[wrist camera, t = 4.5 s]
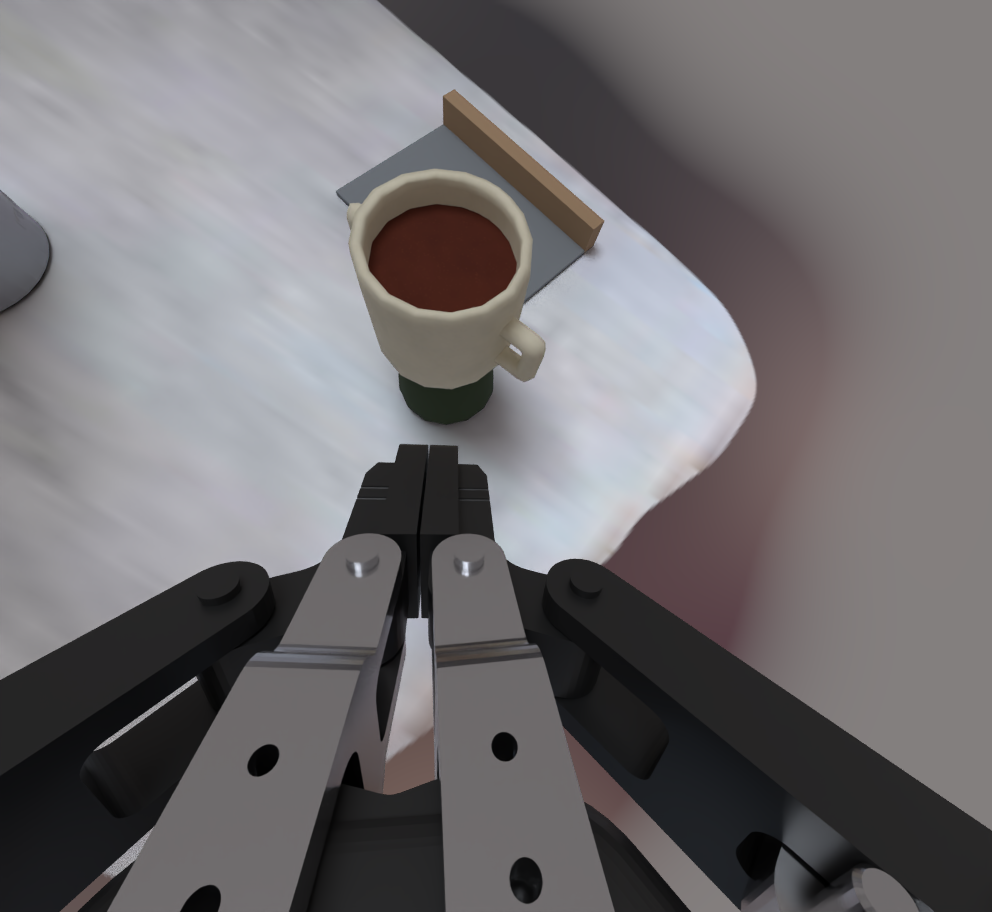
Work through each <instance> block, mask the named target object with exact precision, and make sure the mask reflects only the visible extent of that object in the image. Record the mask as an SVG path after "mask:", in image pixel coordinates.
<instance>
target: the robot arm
mask: <svg viewBox="0 0 992 912" xmlns="http://www.w3.org/2000/svg"><path fill="white" fill-rule="evenodd" d="M48 259H49V243H48V240H47V237H46V234H45V232H44V231H43V229H42V228H41V226H40V225H39V223H38V222H36V221H35V220H34V219H33V218H32V217H31V216H29V215H28V214H27V213H26V212H25V211H24V210H22V209H21V208H20V207H19V206H18V205H16V204H15V203H14V202H13V201H12V199H10V198H9V197H8V196H7V195H6V194H4V193H3V192H2V191H1V190H0V312H1V311H2V310H4V309H6V308H8V307H10V306H11V305H13V304H15V303H17V302H18V301H19V300H20V299H22V298H23V297H24V296H25V295H27V294H28V293H29V292H30V291H31V290H32V288H33V287H34V286H35V285H36V284H37V283H38V282H39V280H40V278H41V276H42V275H43V273H44V271H45V269H46V266H47V262H48ZM489 499H490V498H489V491H488V482H487V475H486V474H485V473H484V472H483V471H482V469H481V468H480V467H479V466H478V465H468V464H458V446H446V445H430V451H429V450H428V445H413V444H400V445H399V448H398V452H397V456H396V460H395V463H383V462H378V463H377V464H376V465H375V466H373V467H372V468H371V469H370V470H369V471H368V472H367V473H366V474H365V477H364V480H363V482H362V485H361V489H360V491H359V493H358V496H357V499H356V502H355V505H354V507H353V510H352V513H351V516H350V519H349V521H348V524H347V527H346V530H345V533H344V535H343V538H342V540H341V541H339V542H338V543H336V544H335V545H333V546H332V547H331V548H330V549H329V550H328V551H327V552H326V554H325V555H324V557H323V559H322V561H321V562H320V563H318V564H316V565H314V566H312V567H310V568H307V569H304V570H301V571H297V572H293V573H288V574H284V575H280V576H276V577H272V578H269V576H268V573H267V572H266V570H265V569H264V568H263V567H261V566H260V565H258V564H255V563H251V562H243V561H237V562H228V563H223V564H220V565H216V566H213V567H210V568H208V569H206V570H203V571H201V572H199V573H197V574H196V575H194V576H192V577H190V578H188V579H186V580H184V581H183V582H181V583H179V584H177V585H175V586H173V587H172V588H170V589H168V590H166V591H164V592H162V593H160V594H159V595H157V596H155V597H153V598H151V599H149V600H147V601H146V602H144V603H142V604H140V605H138V606H136V607H135V608H133V609H131V610H129V611H127V612H125V613H123V614H122V615H120V616H118V617H116V618H114V619H112V620H111V621H109V622H107V623H105V624H103V625H101V626H99V627H98V628H96V629H94V630H92V631H90V632H88V633H86V634H85V635H83V636H81V637H79V638H77V639H75V640H74V641H72V642H70V643H68V644H66V645H64V646H62V647H61V648H59V649H57V650H55V651H53V652H51V653H50V654H48V655H46V656H44V657H42V658H40V659H38V660H37V661H35V662H33V663H31V664H29V665H27V666H25V667H24V668H22V669H20V670H18V671H16V672H14V673H13V674H11V675H9V676H7V677H5V678H3V679H1V680H0V912H60V911H61V910H62V909H63V908H64V907H65V906H66V905H67V904H68V903H70V902H71V900H73V899H74V898H75V897H76V896H77V895H78V894H79V893H80V892H82V891H83V890H84V889H85V888H86V887H87V886H88V885H90V884H91V883H92V882H93V881H94V880H95V879H96V878H97V877H98V876H100V875H101V874H102V873H103V872H104V871H105V870H106V869H107V868H108V867H110V866H111V865H112V864H113V863H114V862H115V861H116V860H117V859H118V858H120V857H121V856H122V855H123V854H124V853H125V852H126V851H127V850H128V849H130V848H131V847H132V846H133V845H134V844H135V843H136V842H137V841H138V840H140V839H141V838H142V837H143V836H144V835H145V834H146V833H147V832H148V831H150V830H151V829H152V828H153V827H154V826H155V827H154V829H153V830H152V832H151V834H150V836H149V838H148V839H147V841H146V843H145V845H144V846H143V848H142V850H141V852H140V854H139V855H138V857H137V859H136V860H135V861H134V862H132V863H131V864H130V865H129V866H128V867H126V868H125V869H124V870H123V871H121V872H120V873H119V874H118V875H117V876H115V877H114V878H113V879H112V880H111V881H110V882H108V883H107V884H106V885H105V886H104V887H103V888H102V889H101V890H100V891H99V892H98V893H97V894H95V895H94V896H93V897H92V898H91V899H90V900H89V901H88V902H87V903H86V904H85V905H84V906H83V907H82V908H81V909H80V910H79V911H78V912H691V911H690V910H689V909H688V908H687V907H686V905H685V904H684V903H683V902H682V901H681V899H680V898H679V897H678V896H677V895H676V894H675V892H674V891H673V890H672V889H671V888H670V886H669V885H668V884H667V883H666V882H665V881H664V880H663V878H662V877H661V876H660V875H659V874H658V872H657V871H656V870H655V869H654V868H653V866H652V865H651V864H650V863H649V862H648V860H647V859H646V858H645V857H644V856H643V855H642V853H641V852H640V851H639V850H638V849H637V848H636V846H635V845H634V844H633V843H632V842H631V841H630V840H629V839H628V838H627V836H626V835H625V834H624V833H623V832H621V830H619V829H618V828H617V827H616V826H615V825H614V824H613V823H612V822H611V821H610V820H609V819H608V818H606V817H605V816H604V815H602V814H601V813H600V812H598V811H597V810H596V809H594V808H593V807H592V806H590V805H588V804H587V803H585V802H584V801H583V797H582V794H581V790H580V787H579V783H578V779H577V776H576V773H575V769H574V765H573V762H572V758H571V755H570V751H569V748H568V744H567V740H566V737H565V733H564V730H563V727H564V728H565V729H566V730H567V731H568V732H569V733H570V734H571V735H572V736H573V737H574V738H575V739H576V740H577V741H578V742H579V743H580V744H581V745H582V746H583V747H584V749H585V750H586V751H588V753H589V754H590V755H591V756H592V757H593V758H594V759H595V760H596V761H597V762H598V763H599V764H600V765H601V766H602V767H603V768H604V769H605V770H606V771H607V772H608V773H609V775H610V776H611V777H613V779H614V780H615V781H616V782H617V783H618V784H619V785H620V786H621V787H622V788H623V789H624V790H625V791H626V792H627V793H628V794H629V795H630V796H631V797H632V798H633V800H635V802H636V803H637V804H638V805H639V806H640V807H641V808H642V809H643V810H644V811H645V812H646V813H647V814H648V815H649V816H650V817H651V818H652V819H653V820H654V821H655V822H656V823H657V825H658V826H659V827H660V828H661V829H662V830H663V831H664V832H665V833H666V834H667V835H668V836H669V837H670V838H671V839H672V840H673V841H674V842H675V843H676V844H677V845H678V846H679V847H680V848H681V849H682V851H683V852H684V853H685V854H686V855H687V856H688V857H689V858H690V859H691V860H692V861H693V862H694V863H695V864H696V865H697V866H698V867H699V868H700V869H701V870H702V871H703V872H704V873H705V874H706V875H707V877H708V878H709V879H710V880H711V881H712V882H713V883H714V884H715V885H716V886H717V887H718V888H719V889H720V890H721V891H722V892H723V893H724V894H725V895H726V896H727V897H728V898H729V899H730V900H731V902H732V903H733V904H734V905H735V906H736V907H737V908H738V909H739V910H740V911H741V912H992V831H991V830H990V829H988V828H987V827H986V826H984V825H982V824H981V823H980V822H978V821H977V820H975V819H974V818H972V817H971V816H969V815H968V814H966V813H965V812H963V811H962V810H961V809H959V808H958V807H956V806H955V805H953V804H952V803H950V802H949V801H947V800H946V799H944V798H943V797H941V796H940V795H939V794H937V793H935V792H934V791H932V790H931V789H930V788H928V787H927V786H925V785H924V784H922V783H921V782H919V781H918V780H916V779H915V778H913V777H912V776H911V775H909V774H908V773H906V772H905V771H903V770H902V769H900V768H899V767H897V766H896V765H894V764H893V763H891V762H890V761H889V760H887V759H885V758H884V757H882V756H881V755H880V754H878V753H877V752H875V751H874V750H872V749H871V748H869V747H868V746H867V745H865V744H864V743H862V742H861V741H859V740H858V739H856V738H855V737H853V736H852V735H850V734H849V733H847V732H846V731H844V730H843V729H841V728H840V727H839V726H837V725H836V724H834V723H833V722H831V721H830V720H828V719H827V718H825V717H824V716H822V715H821V714H819V713H818V712H817V711H815V710H813V709H812V708H811V707H809V706H807V705H806V704H805V703H803V702H802V701H800V700H799V699H797V698H796V697H795V696H793V695H791V694H790V693H789V692H787V691H786V690H784V689H783V688H781V687H780V686H778V685H777V684H775V683H774V682H772V681H771V680H769V679H768V678H767V677H765V676H763V675H762V674H761V673H759V672H758V671H756V670H755V669H753V668H752V667H750V666H749V665H747V664H746V663H745V662H743V661H741V660H740V659H739V658H737V657H736V656H734V655H732V654H731V653H730V652H728V651H727V650H725V649H724V648H722V647H721V646H720V645H718V644H716V643H715V642H714V641H712V640H711V639H709V638H708V637H706V636H705V635H703V634H702V633H700V632H699V631H697V630H696V629H695V628H693V627H692V626H690V625H688V624H687V623H686V622H684V621H683V620H681V619H680V618H678V617H677V616H675V615H674V614H673V613H671V612H670V611H668V610H666V609H665V608H664V607H662V606H661V605H659V604H658V603H656V602H655V601H653V600H652V599H650V598H649V597H647V596H646V595H645V594H643V593H642V592H640V591H639V590H637V589H636V588H634V587H633V586H631V585H630V584H628V583H627V582H625V581H624V580H622V579H621V578H620V577H618V576H617V575H615V574H614V573H612V572H611V571H609V570H608V569H606V568H605V567H603V566H601V565H599V564H597V563H595V562H592V561H588V560H583V559H568V560H564V561H561V562H559V563H557V564H555V565H554V566H553V567H552V568H551V569H550V570H549V572H548V574H547V575H546V574H542V573H538V572H534V571H530V570H527V569H523V568H520V567H518V566H516V565H514V564H512V563H511V562H509V561H508V560H507V559H506V557H505V554H504V552H503V550H502V548H501V547H500V546H499V545H498V544H497V543H496V542H495V539H494V531H493V523H492V514H491V506H490V501H489ZM420 596H421V614H422V618H428V636H429V644H430V647H431V649H432V681H433V718H434V755H435V780H433V781H430V782H428V783H425V784H422V785H420V786H417V787H414V788H412V789H409V790H406V791H404V792H401V793H398V794H394V795H384V794H382V793H383V785H384V773H385V760H386V753H387V746H388V741H389V736H390V731H391V726H392V721H393V716H394V711H395V706H396V701H397V696H398V691H399V686H400V681H401V676H402V671H403V665H404V660H405V655H406V639H405V632H406V624H407V618H418V617H419V607H420ZM195 676H196V677H197V679H198V681H196V682H195V683H194V684H192V685H191V686H190V687H188V688H187V689H185V690H184V691H183V692H181V693H180V694H178V695H177V696H176V697H174V698H173V699H172V700H170V701H169V702H167V703H166V704H165V705H163V706H162V707H160V708H159V709H158V710H156V711H155V712H154V713H152V714H151V715H149V716H148V717H147V718H145V719H144V720H142V721H141V722H140V723H138V724H137V725H136V726H134V727H133V728H131V729H130V730H129V731H127V732H126V733H124V734H123V735H122V736H120V737H119V738H118V739H116V740H115V741H113V742H112V743H110V744H109V745H107V746H105V747H103V748H101V749H99V750H96V751H94V750H95V749H96V748H97V747H98V746H99V745H100V744H101V743H103V742H104V741H105V740H107V739H108V738H109V737H111V736H112V735H114V734H115V733H116V732H118V731H119V730H121V729H122V728H123V727H125V726H126V725H128V724H129V723H131V722H132V721H133V720H135V719H136V718H138V717H139V716H140V715H142V714H143V713H145V712H146V711H147V710H149V709H150V708H152V707H153V706H154V705H156V704H157V703H159V702H160V701H161V700H163V699H164V698H166V697H167V696H168V695H170V694H171V693H173V692H174V691H175V690H177V689H178V688H180V687H181V686H183V685H184V684H185V683H187V682H188V681H190V680H191V679H192V678H194V677H195Z"/></svg>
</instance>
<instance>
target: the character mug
mask: <svg viewBox="0 0 992 912" xmlns="http://www.w3.org/2000/svg"><path fill="white" fill-rule="evenodd" d="M347 220H348V223H349V227H350V230H351V233H350V238H349V243H348V244H349V249H350V254H351V257H352V261H353V264H354V268H355V271H356V274H357V278H358V281H359V285H360V288H361V291H362V294H363V297H364V300H365V303H366V306H367V309H368V312H369V315H370V318H371V321H372V324H373V327H374V330H375V333H376V336H377V339H378V342H379V345H380V348H381V351H382V352H383V354H384V355H385V356H386V358H387V359H388V360H389V361H390V363H391V364H392V365H393V366H394V368H395V369H396V370H397V371H398V372H399V388H400V390H401V392H402V395H403V397H404V399H405V401H406V403H407V405H408V407H409V408H410V409H411V410H413V411H414V412H415V413H416V414H418V415H419V416H420V417H422V418H423V419H424V420H427V421H431V422H436V423H441V424H451V423H455V422H460V421H465V420H468V419H469V418H471V417H472V416H473V415H475V414H476V413H477V412H479V411H480V410H482V409H483V408H484V407H485V405H486V403H487V401H488V399H489V398H490V396H491V394H492V392H493V369H494V368H495V367H496V366H497V365H500V366H501V367H502V368H504V369H505V370H506V371H508V372H509V373H510V374H512V375H513V376H514V377H516V378H517V379H519V380H521V381H523V382H526V381H528V380H530V379H532V378H534V377H535V375H536V373H537V370H538V368H539V366H540V364H541V361H542V359H543V357H544V353H545V349H546V348H545V342H544V340H543V339H542V338H541V337H540V336H539V335H538V334H536V333H535V332H534V331H532V330H531V329H530V328H528V327H527V326H526V325H524V324H523V323H522V322H520V321H519V318H520V315H521V311H522V307H523V303H524V300H525V296H526V290H527V287H528V283H529V280H530V272H531V258H532V243H533V239H532V236H531V233H530V230H529V227H528V224H527V222H526V219H525V216H524V214H523V212H522V211H521V210H520V208H519V207H518V206H517V204H516V203H515V202H514V201H513V199H512V198H511V197H510V196H509V195H508V194H507V193H505V192H504V191H503V190H502V189H501V188H500V187H498V186H496V185H494V184H493V183H491V182H489V181H487V180H485V179H483V178H480V177H477V176H475V175H472V174H469V173H467V172H461V171H452V170H443V169H429V170H423V171H417V172H411V173H405V174H401V175H399V176H397V177H396V178H394V179H392V180H390V181H388V182H386V183H384V184H382V185H380V186H378V187H376V188H375V189H373V190H372V191H371V193H370V194H369V195H368V197H367V198H366V199H365V200H364V202H363V203H362V204H360V203H350V204H349V208H348V211H347ZM510 344H512V345H513V346H515V347H516V348H517V349H519V350H520V351H521V352H522V356H520V355H519V354H517V353H516V352H515V351H513V350H512V349H511V348H509V346H510Z"/></svg>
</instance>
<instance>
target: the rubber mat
mask: <svg viewBox="0 0 992 912" xmlns="http://www.w3.org/2000/svg"><path fill="white" fill-rule="evenodd" d="M429 169H443V170H452V171H461V172H467V173H469V174H472V175H475V176H477V177H480V178H483V179H485V180H487V181H489V182H491V183H493V184H494V185H496V186H498V187H500V188H501V189H502V190H503V191H504V192H505V193H507V194H508V195H509V196H510V197H511V198H512V199H513V201H514V202H515V203H516V204H517V206H518V207H519V208H520V210H521V211H522V212H523V214H524V216H525V219H526V222H527V224H528V227H529V230H530V233H531V236H532V239H533V243H532V258H531V272H530V280H529V283H528V287H527V290H526V296H525V300H524V302H526V301H527V300H528V299H529V298H530V297H532V296H533V295H534V294H535V293H536V292H538V291H539V290H540V289H541V288H543V287H544V286H545V285H546V284H547V283H549V282H550V281H551V280H552V279H553V278H555V277H556V276H557V275H558V274H559V273H561V272H562V271H563V270H564V269H566V268H567V267H568V266H569V265H570V264H572V263H573V262H574V261H575V260H576V259H578V258H579V257H580V256H581V255H583V254H584V253H585V252H586V251H587V250H589V249H590V248H591V247H592V246H593V245H594V243H595V241H596V239H597V236H598V234H599V232H600V230H601V227H602V225H603V223H604V220H603V219H601V218H600V217H599V216H598V215H597V214H596V213H595V212H594V211H592V210H591V209H590V208H589V207H588V206H587V205H586V204H584V203H583V202H582V201H581V200H580V199H579V198H578V197H576V196H575V195H574V194H573V193H572V192H571V191H570V190H568V189H567V188H566V187H565V186H564V185H563V184H562V183H560V182H559V181H558V180H557V179H556V178H555V177H554V176H553V175H551V174H550V173H549V172H548V171H547V170H546V169H545V168H543V167H542V166H541V165H540V164H539V163H538V162H537V161H535V160H534V159H533V158H532V157H531V156H530V155H529V154H527V153H526V152H525V151H524V150H523V149H522V148H521V147H519V146H518V145H517V144H516V143H515V142H514V141H513V140H512V139H510V138H509V137H508V136H507V135H506V134H505V133H504V132H502V131H501V130H500V129H499V128H498V127H497V126H496V125H494V124H493V123H492V122H491V121H490V120H489V119H488V118H486V117H485V116H484V115H483V114H482V113H481V112H480V111H478V110H477V109H476V108H475V107H474V106H473V105H472V104H471V103H469V102H468V101H467V100H466V99H465V98H464V97H463V96H461V95H460V94H459V93H458V92H457V91H456V90H455V89H454V90H452V91H451V92H449V93H447V94H446V95H444V96H443V125H442V126H440V127H438V128H437V129H435V130H434V131H432V132H430V133H429V134H427V135H426V136H424V137H422V138H421V139H419V140H417V141H416V142H414V143H413V144H411V145H409V146H408V147H406V148H405V149H403V150H401V151H400V152H398V153H397V154H395V155H393V156H392V157H390V158H388V159H387V160H385V161H384V162H382V163H380V164H379V165H377V166H376V167H374V168H372V169H371V170H369V171H367V172H366V173H364V174H363V175H361V176H359V177H358V178H356V179H355V180H353V181H351V182H350V183H348V184H347V185H345V186H343V187H342V188H340V189H338V190H337V191H336V193H337V195H338V196H339V197H340V198H341V199H342V200H343V201H344V202H345V203H346V204H347V205H348V206H349V204H350V203H360V204H362V203H363V202H364V200H365V199H366V198H367V197H368V195H369V194H370V193H371V191H372V190H373V189H375V188H376V187H378V186H380V185H382V184H384V183H386V182H388V181H390V180H392V179H394V178H396V177H397V176H399V175H401V174H405V173H411V172H417V171H423V170H429Z"/></svg>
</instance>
